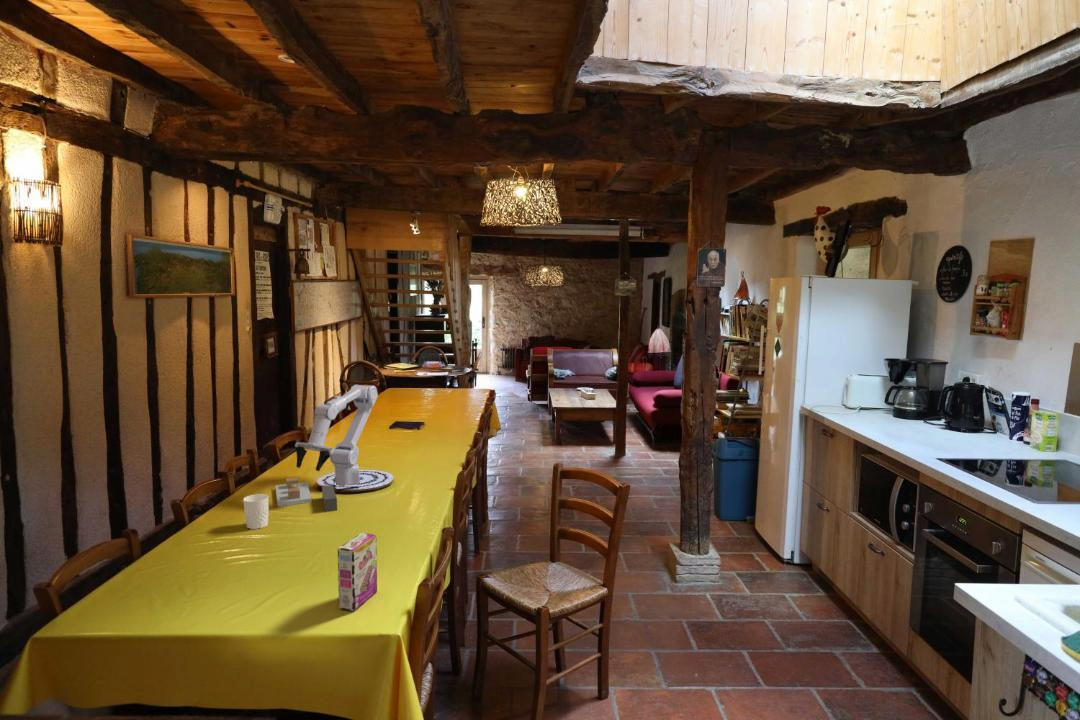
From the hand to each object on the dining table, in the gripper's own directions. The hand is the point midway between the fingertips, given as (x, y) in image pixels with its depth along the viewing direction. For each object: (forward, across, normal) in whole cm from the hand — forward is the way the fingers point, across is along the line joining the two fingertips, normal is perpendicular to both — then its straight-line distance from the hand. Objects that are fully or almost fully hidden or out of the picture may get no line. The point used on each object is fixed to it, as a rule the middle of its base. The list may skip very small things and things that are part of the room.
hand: (307, 469), depth 235 cm
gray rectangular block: (+11, +10, +6) cm, 16 cm away
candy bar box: (+40, +49, -56) cm, 84 cm away
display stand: (+9, -9, +14) cm, 19 cm away
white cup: (+24, -5, -13) cm, 28 cm away
